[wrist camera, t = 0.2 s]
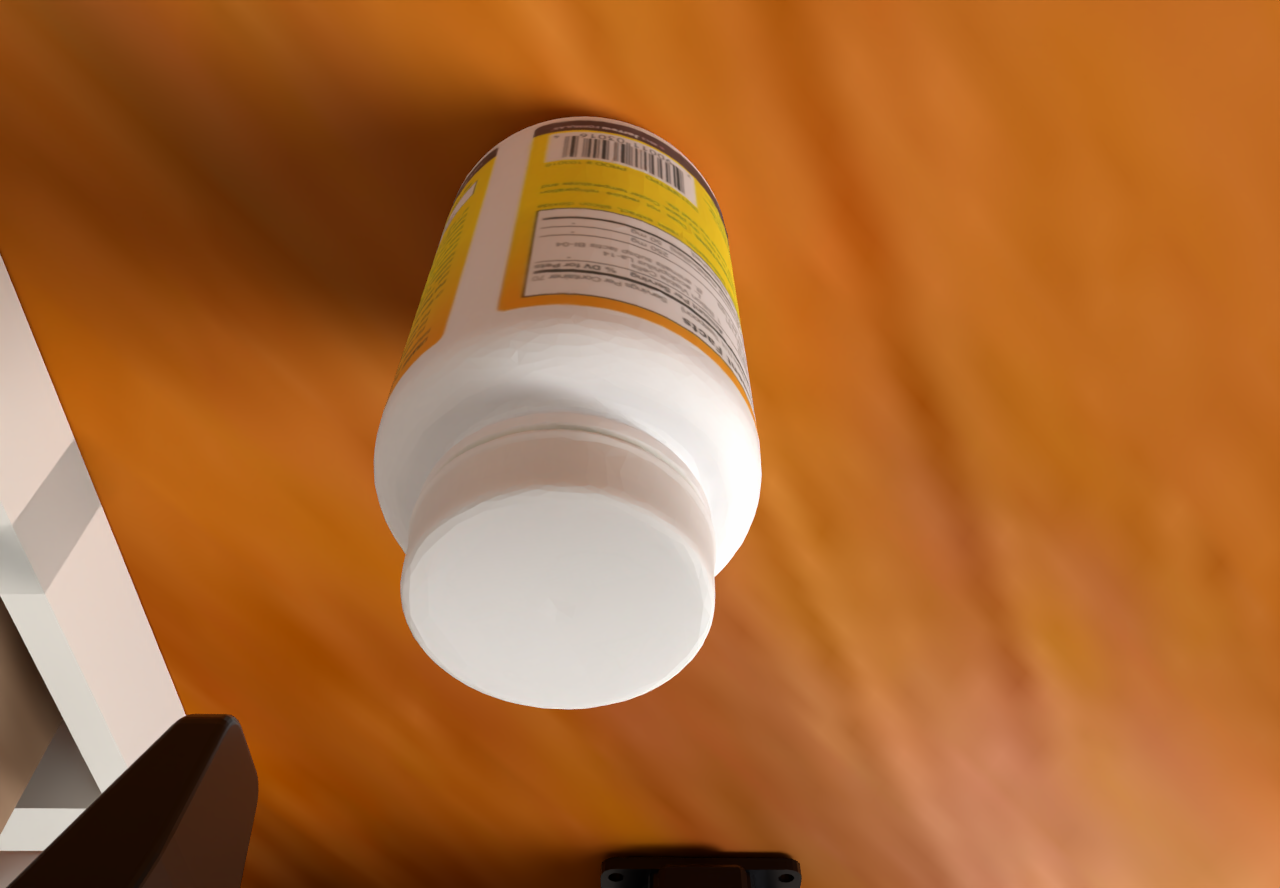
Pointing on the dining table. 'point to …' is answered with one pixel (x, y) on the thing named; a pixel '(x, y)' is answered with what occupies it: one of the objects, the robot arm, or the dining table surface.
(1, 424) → the grey divided tray
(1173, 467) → the dining table surface
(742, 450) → the supplement bottle
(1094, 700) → the dining table surface
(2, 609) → the walnut block
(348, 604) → the dining table surface
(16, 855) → the milk bottle
